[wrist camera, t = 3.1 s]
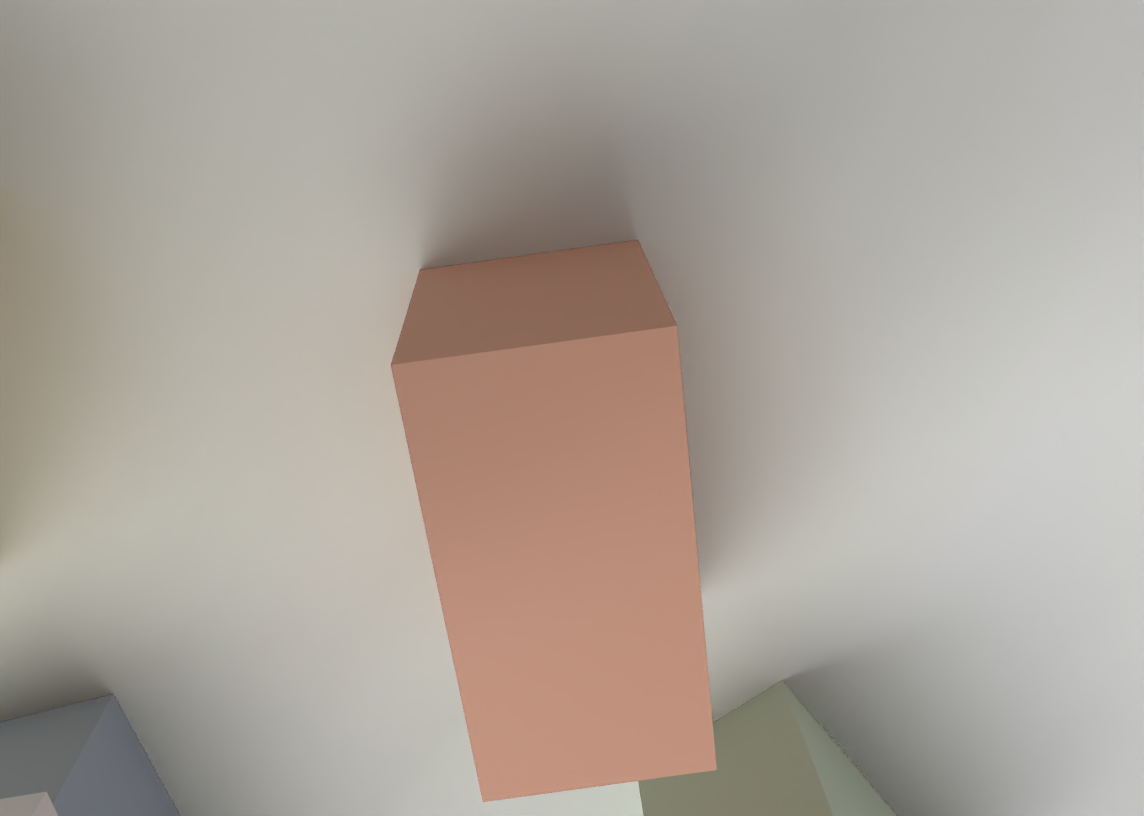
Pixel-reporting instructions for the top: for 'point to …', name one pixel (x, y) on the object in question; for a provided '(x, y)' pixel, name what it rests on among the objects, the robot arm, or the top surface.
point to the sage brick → (768, 769)
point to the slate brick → (82, 762)
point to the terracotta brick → (560, 516)
